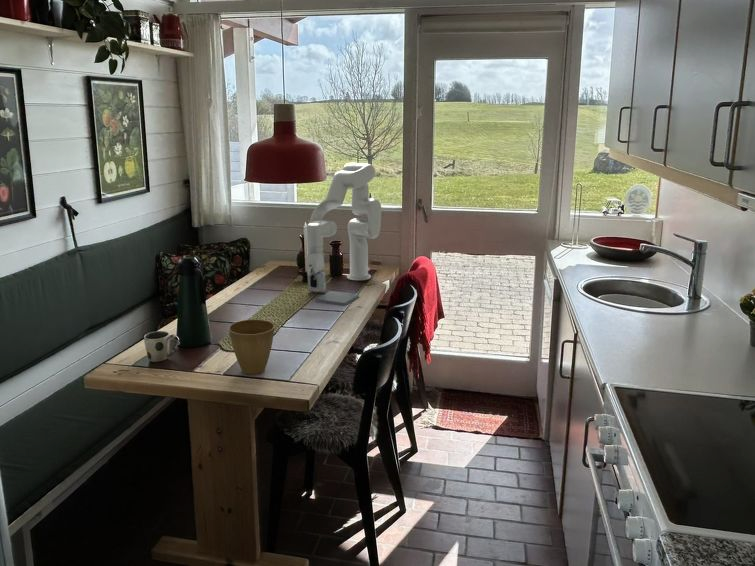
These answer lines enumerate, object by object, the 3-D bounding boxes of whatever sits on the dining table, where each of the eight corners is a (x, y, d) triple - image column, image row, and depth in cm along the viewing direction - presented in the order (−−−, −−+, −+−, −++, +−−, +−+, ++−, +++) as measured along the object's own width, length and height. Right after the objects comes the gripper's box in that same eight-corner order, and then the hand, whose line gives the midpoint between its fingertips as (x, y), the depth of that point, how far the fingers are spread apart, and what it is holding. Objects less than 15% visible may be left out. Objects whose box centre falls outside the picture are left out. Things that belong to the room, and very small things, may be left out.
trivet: (330, 293, 302) (330, 290, 302) (358, 296, 297) (358, 294, 296) (315, 301, 289) (315, 299, 289) (344, 305, 283) (344, 302, 283)
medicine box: (326, 288, 305) (325, 271, 303) (324, 291, 301) (323, 273, 298) (310, 288, 306) (309, 271, 304) (308, 290, 302) (307, 273, 299)
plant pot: (224, 378, 206) (221, 332, 201) (241, 361, 220) (238, 318, 215) (268, 381, 203) (265, 335, 199) (281, 363, 217) (280, 320, 213)
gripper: (317, 244, 307) (318, 279, 312) (299, 252, 292) (301, 289, 297) (330, 245, 304) (332, 281, 309) (313, 253, 289) (315, 291, 294)
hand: (316, 284), depth 303 cm, fingers closed on medicine box, 5 cm apart
